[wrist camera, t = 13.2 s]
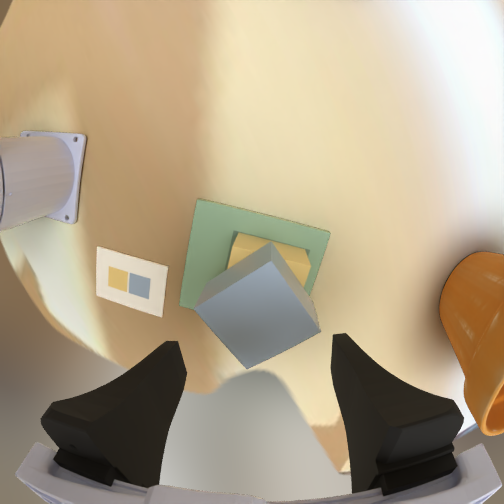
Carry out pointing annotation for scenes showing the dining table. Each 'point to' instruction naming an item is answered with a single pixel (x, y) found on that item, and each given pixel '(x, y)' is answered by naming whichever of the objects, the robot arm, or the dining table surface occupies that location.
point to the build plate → (223, 237)
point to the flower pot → (478, 334)
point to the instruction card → (131, 281)
